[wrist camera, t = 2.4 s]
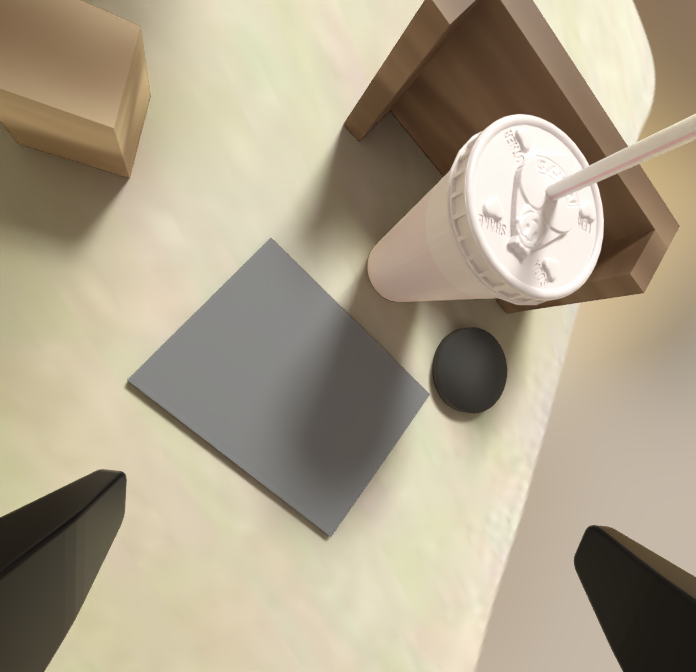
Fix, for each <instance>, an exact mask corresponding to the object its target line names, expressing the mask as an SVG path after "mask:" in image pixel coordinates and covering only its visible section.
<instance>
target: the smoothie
mask: <svg viewBox="0 0 696 672" xmlns="http://www.w3.org/2000/svg"><path fill="white" fill-rule="evenodd" d="M695 139H696V114H694V115H692V116H690V117H688V118H686V119H684V120H682V121H680V122H678V123H676V124H674V125H672V126H670V127H668V128H666V129H663V130H662V131H659V132H657V133H655V134H653V135H651V136H649V137H647V138H645V139H643V140H641V141H639V142H637V143H635V144H633V145H631V146H628V147H626V148H624V149H622V150H620V151H618V152H616V153H614V154H612V155H610V156H608V157H606V158H604V159H602V160H600V161H598V162H596V163H594V164H591V165H589V164H588V162H587V161H586V159H585V157H584V155H583V154H582V153H581V151H580V150H579V148H578V147H577V146H576V144H575V143H574V142H573V141H572V140H571V139H570V138H569V137H568V136H567V135H566V134H565V133H564V132H563V131H561V130H560V129H559V128H557V127H556V126H555V125H553V124H552V123H550V122H548V121H546V120H543V119H541V118H539V117H535V116H532V115H525V114H516V115H510V116H506V117H503V118H501V119H499V120H497V121H495V122H494V123H492V124H491V125H490V126H488V127H487V128H486V129H485V130H483V131H481V132H479V133H477V134H476V135H474V136H472V137H471V138H470V139H469V140H468V141H467V143H466V144H465V145H464V146H463V147H462V148H461V149H460V150H459V152H458V154H457V156H456V158H455V160H454V163H453V165H452V167H451V169H450V171H449V172H448V173H447V174H446V175H445V176H444V177H443V178H442V179H441V180H440V181H439V182H438V183H437V184H436V185H435V186H434V187H433V188H432V189H431V190H430V191H429V192H428V193H427V194H426V195H425V196H424V197H423V198H422V199H421V200H420V201H419V202H418V203H417V204H416V205H415V206H414V207H413V208H412V209H411V210H410V211H409V212H408V213H407V214H406V215H405V216H404V217H403V218H402V219H401V220H400V221H399V222H398V223H397V224H396V225H395V226H394V227H393V228H392V229H391V230H390V231H389V232H388V233H387V234H386V235H385V236H384V237H383V238H382V239H381V240H380V241H379V242H378V243H377V244H376V245H375V246H374V247H373V249H372V250H371V252H370V255H369V258H368V264H367V269H368V275H369V279H370V281H371V283H372V285H373V287H374V288H375V290H376V291H377V292H378V293H379V294H380V295H381V296H382V297H384V298H386V299H388V300H390V301H393V302H414V301H438V300H463V299H493V298H499V299H502V300H505V301H508V302H510V303H513V304H516V305H538V304H540V303H543V302H546V301H550V300H556V299H560V298H563V297H566V296H568V295H570V294H572V293H573V292H575V291H576V290H577V289H579V288H580V287H581V286H582V285H583V284H584V283H585V282H586V280H587V279H588V278H589V276H590V275H591V273H592V271H593V269H594V267H595V266H596V263H597V260H598V257H599V254H600V251H601V246H602V240H603V228H604V218H603V208H602V201H601V197H600V193H599V188H598V186H597V182H599V181H601V180H604V179H606V178H608V177H611V176H613V175H615V174H617V173H620V172H622V171H624V170H627V169H629V168H631V167H633V166H636V165H638V164H640V163H643V162H645V161H647V160H650V159H652V158H654V157H656V156H659V155H661V154H663V153H665V152H668V151H670V150H672V149H675V148H677V147H679V146H682V145H684V144H686V143H689V142H691V141H693V140H695Z"/></svg>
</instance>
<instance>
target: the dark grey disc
mask: <svg viewBox="0 0 696 672" xmlns="http://www.w3.org/2000/svg"><path fill="white" fill-rule="evenodd" d="M433 378H434V383H435V386H436V389H437V391H438V393H439V395H440V396H441V398H442V399H443V400H444V401H445V402H446V403H447V404H448V405H449V406H450V407H452V408H454V409H456V410H458V411H463V412H468V413H479V412H483V411H485V410H487V409H489V408H490V407H492V406H493V405H494V404H495V403H496V402H497V400H498V399H499V398H500V396H501V394H502V392H503V390H504V387H505V383H506V378H507V364H506V359H505V355H504V352H503V350H502V348H501V346H500V344H499V343H498V341H497V340H496V339H495V338H494V337H493V336H492V335H491V334H490V333H488V332H487V331H484V330H482V329H479V328H464V329H458V330H456V331H453V332H452V333H450V334H449V335H447V336H446V337H445V338H444V339H443V340H442V342H441V343H440V345H439V346H438V348H437V351H436V353H435V357H434V361H433Z"/></svg>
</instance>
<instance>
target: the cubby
mask: <svg viewBox="0 0 696 672" xmlns="http://www.w3.org/2000/svg"><path fill="white" fill-rule="evenodd" d="M389 111H391V112H392V114H393V115H394V116H395V117H396V119H397V120H398V121H399V122H400V123H401V125H402V126H403V127H404V128H405V130H406V131H407V132H408V133H409V134H410V136H411V137H412V138H413V139H414V141H415V142H416V143H417V144H418V145H419V147H420V148H421V149H422V150H423V152H424V153H425V154H426V155H427V156H428V158H429V159H430V160H431V161H432V163H433V164H434V165H435V166H436V167H437V169H438V170H439V171H440V172H441V174H442V175H443V176H445V175H446V174H447V173H448V172H449V171H450V169H451V167H452V165H453V163H454V160H455V158H456V156H457V154H458V152H459V150H460V149H461V148H462V147H463V146H464V145H465V144H466V143H467V141H468V140H469V139H470V138H471V137H472V136H474V135H476V134H477V133H479V132H481V131H483V130H485V129H486V128H487V127H488V126H490V125H491V124H492V123H494V122H495V121H497V120H499V119H501V118H503V117H506V116H510V115H516V114H525V115H532V116H535V117H539V118H541V119H543V120H546V121H548V122H550V123H552V124H553V125H555V126H556V127H557V128H559V129H560V130H561V131H563V132H564V133H565V134H566V135H567V136H568V137H569V138H570V139H571V140H572V141H573V142H574V143H575V144H576V146H577V147H578V148H579V150H580V151H581V153H582V154H583V155H584V157H585V159H586V161H587V162H588V164H589V165H591V164H594V163H596V162H598V161H600V160H602V159H604V158H606V157H608V156H610V155H612V154H614V153H616V152H618V151H620V150H622V149H624V148H626V147H628V146H627V144H626V143H625V141H624V140H623V138H622V137H621V135H620V134H619V132H618V131H617V129H616V128H615V126H614V124H613V123H612V121H611V120H610V118H609V117H608V115H607V114H606V112H605V111H604V109H603V108H602V106H601V105H600V103H599V101H598V100H597V98H596V97H595V95H594V94H593V92H592V91H591V89H590V88H589V86H588V85H587V83H586V81H585V80H584V78H583V77H582V75H581V74H580V72H579V71H578V69H577V68H576V66H575V65H574V63H573V61H572V60H571V58H570V57H569V55H568V54H567V52H566V51H565V49H564V48H563V46H562V45H561V43H560V42H559V40H558V38H557V37H556V35H555V34H554V32H553V31H552V29H551V28H550V26H549V25H548V23H547V22H546V20H545V18H544V17H543V15H542V14H541V12H540V11H539V9H538V8H537V6H536V5H535V3H534V2H533V0H425V1H424V2H423V4H422V5H421V7H420V8H419V10H418V11H417V13H416V14H415V16H414V17H413V19H412V20H411V22H410V23H409V25H408V27H407V28H406V30H405V31H404V33H403V34H402V36H401V37H400V39H399V40H398V42H397V43H396V45H395V46H394V48H393V49H392V51H391V52H390V54H389V56H388V57H387V59H386V60H385V62H384V63H383V65H382V66H381V68H380V69H379V71H378V72H377V74H376V75H375V77H374V78H373V80H372V81H371V83H370V84H369V86H368V88H367V89H366V91H365V92H364V94H363V95H362V97H361V98H360V100H359V101H358V103H357V104H356V106H355V107H354V109H353V110H352V112H351V113H350V115H349V116H348V118H347V120H346V121H345V123H344V125H345V126H346V127H347V128H348V129H349V130H350V131H351V133H352V134H353V135H354V136H355V137H356V138H357V140H358V141H360V140H361V139H362V138H363V137H364V136H365V135H366V134H367V133H368V132H369V131H370V130H371V129H372V128H373V127H374V126H375V125H376V124H377V123H378V122H379V121H380V120H381V119H382V118H383V117H384V116H385V115H386V114H387V113H388V112H389ZM597 186H598V188H599V193H600V197H601V201H602V208H603V218H604V228H603V240H602V246H601V251H600V254H599V257H598V260H597V263H596V266H595V267H594V269H593V271H592V273H591V275H590V276H589V278H588V279H587V280H586V282H585V283H584V284H583V285H582V286H581V287H580V288H579V289H577V290H576V291H575V292H573V293H572V294H570V295H568V296H566V297H563V298H560V299H556V300H550V301H546V302H543V303H540V304H538V305H516V304H513V303H510V302H508V301H505V300H502V299H499V298H497V302H498V303H499V304H500V305H501V306H502V307H503V309H504V310H505V311H506V312H507V313H513V312H519V311H526V310H533V309H540V308H546V307H553V306H560V305H566V304H573V303H580V302H587V301H593V300H599V299H607V298H613V297H620V296H627V295H633V294H640V293H644V292H645V290H646V288H647V286H648V285H649V283H650V281H651V279H652V277H653V275H654V273H655V271H656V270H657V268H658V266H659V264H660V262H661V260H662V258H663V256H664V254H665V253H666V251H667V249H668V247H669V245H670V243H671V241H672V240H673V238H674V236H675V234H676V232H677V230H678V228H679V225H678V223H677V221H676V220H675V218H674V217H673V215H672V214H671V212H670V211H669V209H668V207H667V206H666V204H665V203H664V201H663V200H662V198H661V197H660V195H659V194H658V192H657V191H656V189H655V188H654V186H653V184H652V183H651V181H650V180H649V178H648V177H647V175H646V174H645V172H644V171H643V169H642V168H641V166H640V164H638V165H636V166H633V167H631V168H629V169H627V170H624V171H622V172H620V173H617V174H615V175H613V176H611V177H608V178H606V179H604V180H601V181H599V182H597Z"/></svg>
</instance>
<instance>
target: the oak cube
mask: <svg viewBox="0 0 696 672" xmlns="http://www.w3.org/2000/svg"><path fill="white" fill-rule="evenodd" d="M150 97H151V95H150V88H149V81H148V74H147V67H146V60H145V54H144V47H143V40H142V33H141V26H138V25H136V24H134V23H132V22H129V21H127V20H125V19H123V18H120V17H118V16H116V15H114V14H111V13H109V12H107V11H105V10H102V9H100V8H98V7H96V6H93V5H91V4H89V3H87V2H84V1H82V0H0V121H1V122H2V124H3V125H4V126H5V128H6V129H7V130H8V131H9V133H10V134H11V135H12V136H13V138H14V139H15V140H16V142H17V143H18V144H21V145H25V146H28V147H31V148H34V149H37V150H41V151H44V152H47V153H50V154H53V155H57V156H60V157H63V158H66V159H70V160H73V161H76V162H79V163H82V164H86V165H89V166H92V167H95V168H98V169H102V170H105V171H108V172H111V173H114V174H118V175H121V176H124V177H127V178H130V176H131V172H132V168H133V164H134V160H135V156H136V152H137V148H138V144H139V140H140V136H141V132H142V128H143V124H144V120H145V116H146V113H147V109H148V105H149V101H150Z"/></svg>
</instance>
